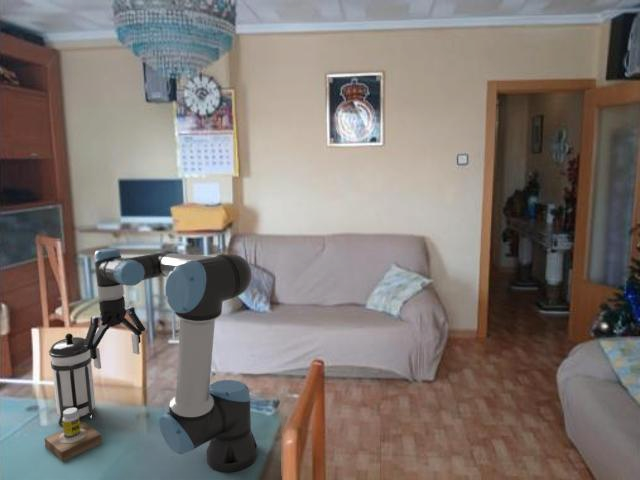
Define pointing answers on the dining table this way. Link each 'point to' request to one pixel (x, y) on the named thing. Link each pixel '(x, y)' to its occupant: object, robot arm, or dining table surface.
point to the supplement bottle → (71, 423)
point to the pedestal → (72, 442)
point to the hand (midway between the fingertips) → (117, 360)
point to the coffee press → (72, 376)
